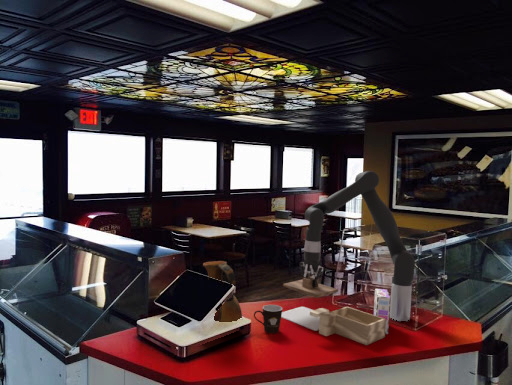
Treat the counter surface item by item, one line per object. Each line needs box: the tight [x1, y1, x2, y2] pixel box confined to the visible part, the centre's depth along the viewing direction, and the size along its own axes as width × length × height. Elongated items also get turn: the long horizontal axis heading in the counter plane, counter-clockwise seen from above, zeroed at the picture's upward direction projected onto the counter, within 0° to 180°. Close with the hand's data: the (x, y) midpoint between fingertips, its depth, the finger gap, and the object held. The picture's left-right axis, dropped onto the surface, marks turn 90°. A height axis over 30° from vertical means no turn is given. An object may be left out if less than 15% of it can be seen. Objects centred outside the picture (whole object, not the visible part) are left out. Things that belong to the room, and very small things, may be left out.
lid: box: [282, 275, 339, 299], centre depth 205 cm, size 15×21×6 cm
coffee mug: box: [253, 304, 284, 334], centre depth 188 cm, size 12×9×10 cm
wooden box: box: [318, 306, 386, 346], centre depth 186 cm, size 20×20×8 cm
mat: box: [281, 306, 320, 332], centre depth 206 cm, size 20×25×1 cm
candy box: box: [373, 288, 391, 335], centre depth 196 cm, size 14×6×16 cm, turn 168°
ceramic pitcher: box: [202, 260, 243, 322], centre depth 184 cm, size 20×20×30 cm
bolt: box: [310, 307, 330, 318], centre depth 183 cm, size 8×4×2 cm, turn 133°
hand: (310, 285), depth 205 cm, fingers closed on lid, 4 cm apart
